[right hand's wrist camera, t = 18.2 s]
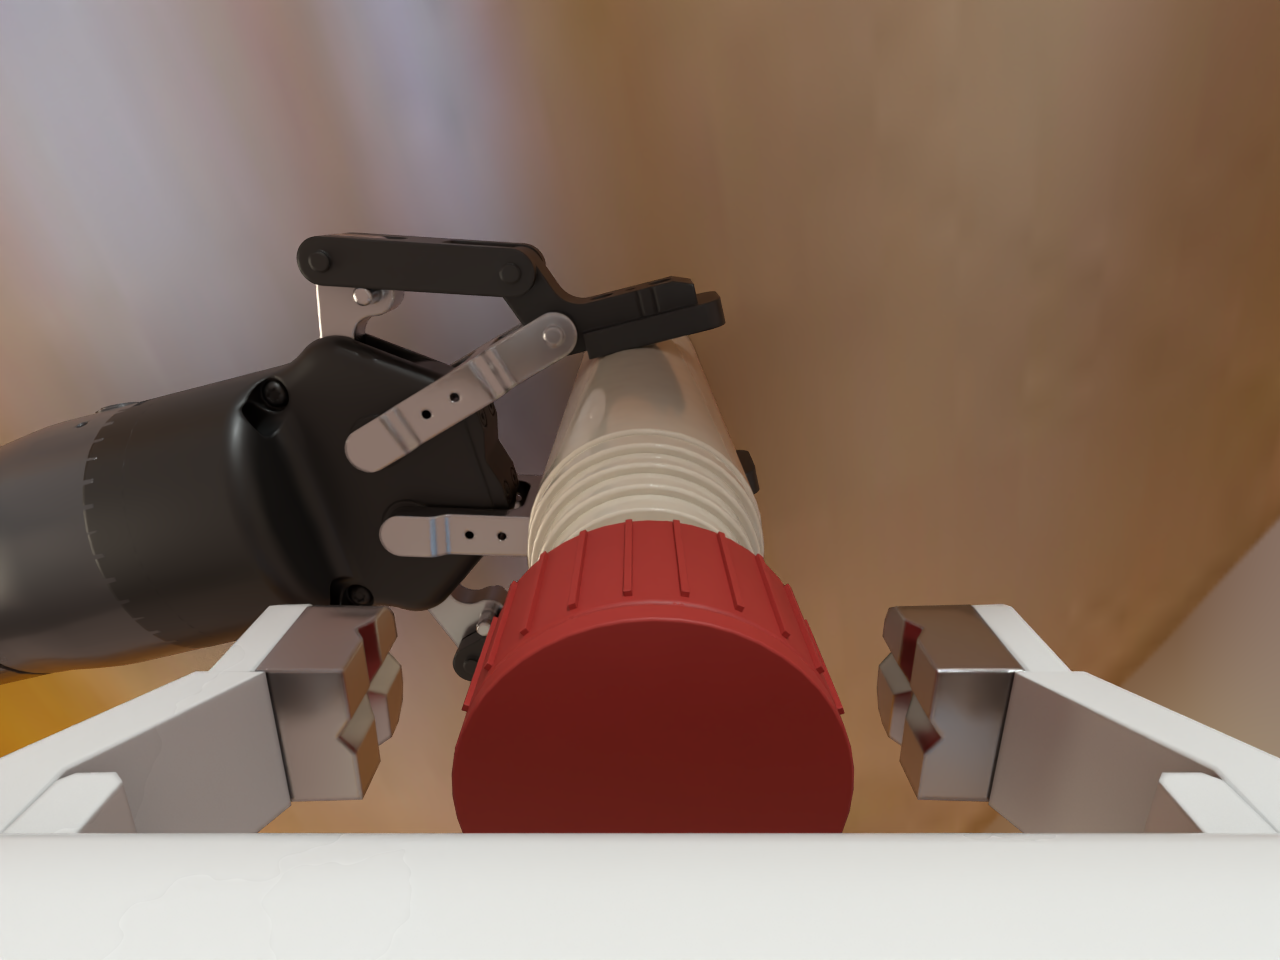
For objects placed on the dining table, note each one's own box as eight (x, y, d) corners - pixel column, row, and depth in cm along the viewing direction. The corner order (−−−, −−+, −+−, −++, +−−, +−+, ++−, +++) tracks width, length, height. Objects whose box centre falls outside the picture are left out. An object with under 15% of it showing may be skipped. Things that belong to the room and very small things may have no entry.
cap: (420, 638, 10) (357, 769, 8) (678, 446, 9) (694, 528, 7) (623, 836, 11) (620, 1000, 9) (870, 682, 10) (938, 820, 8)
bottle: (721, 362, 27) (924, 732, 8) (647, 448, 28) (675, 952, 9) (631, 286, 26) (623, 506, 7) (558, 378, 27) (384, 779, 8)
